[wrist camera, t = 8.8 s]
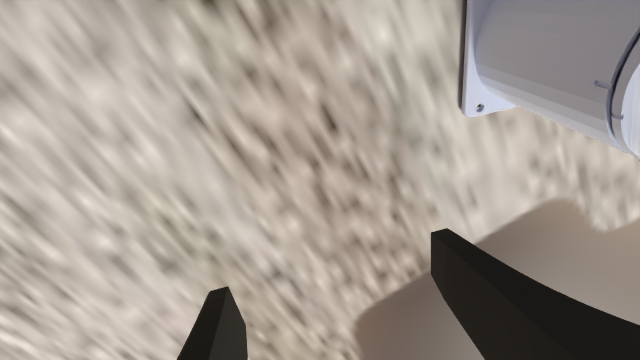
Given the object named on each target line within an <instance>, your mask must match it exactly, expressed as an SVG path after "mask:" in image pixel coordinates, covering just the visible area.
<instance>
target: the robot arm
mask: <svg viewBox="0 0 640 360" xmlns="http://www.w3.org/2000/svg"><path fill="white" fill-rule="evenodd" d="M479 104H480V108H479V109H478V110H476V107H477V106H478V105H479ZM518 106H519V107H521V108H524V109H526V110H528V111H531V112H533V113H535V114H538V115H540V116H542V117H545V118H547V119H549V120H552V121H554V122H556V123H559V124H561V125H563V126H566V127H568V128H570V129H572V130H575V131H577V132H579V133H582V134H584V135H586V136H589V137H591V138H593V139H596V140H598V141H600V142H603V143H605V144H607V145H610V146H612V147H614V148H617V149H619V150H621V151H623V152H626V153H629V154H631V155H633V156H634V157H636V158H638V159H639V161H640V0H467V17H466V36H465V55H464V75H463V94H462V113H463V115H465V116H466V117H475V116H479V115H484V114H488V113H492V112H497V111H501V110H505V109H510V108H514V107H518ZM431 275H432V277H433V279H434V281H435V282H436V285H437V287H438V288H439V290H440V292H441V294H442V296H443V298H444V300H445V301H446V303H447V304H448V306H449V307H450V309H451V310H452V312H453V313H454V315H455V316H456V318H457V319H458V321H459V322H460V324H461V325H462V327H463V328H464V329H465V331H466V332H467V334H468V335H469V337H470V338H471V340H472V341H473V343H474V344H475V346H476V347H477V348H478V350H479V351H480V353H481V354H482V356H483V357H484V359H485V360H640V325H637V324H635V323H632V322H629V321H626V320H624V319H621V318H619V317H616V316H613V315H611V314H608V313H606V312H603V311H601V310H598V309H596V308H593V307H591V306H588V305H586V304H584V303H581V302H579V301H577V300H575V299H573V298H570V297H568V296H566V295H564V294H562V293H560V292H557V291H555V290H553V289H551V288H549V287H547V286H545V285H543V284H541V283H539V282H537V281H535V280H533V279H531V278H529V277H528V276H526V275H524V274H522V273H520V272H518V271H517V270H515V269H513V268H511V267H509V266H508V265H506V264H504V263H503V262H501V261H499V260H498V259H496V258H494V257H492V256H491V255H489V254H487V253H486V252H484V251H483V250H481V249H479V248H478V247H476V246H475V245H473V244H472V243H470V242H468V241H467V240H465V239H464V238H462V237H461V236H459V235H457V234H456V233H454V232H453V231H451V230H449V229H448V228H446V229H443V230H439V231H435V232H431ZM247 358H248V354H247V338H246V325H245V323H244V320H243V318H242V316H241V314H240V311H239V309H238V307H237V305H236V303H235V300H234V298H233V296H232V294H231V291H230V289H229V287H224V288H220V289H217V290H213V291H210V292H209V294H208V296H207V298H206V300H205V302H204V304H203V307H202V309H201V311H200V313H199V315H198V318H197V320H196V322H195V324H194V326H193V328H192V330H191V332H190V334H189V336H188V338H187V340H186V342H185V344H184V346H183V348H182V350H181V352H180V354H179V356H178V358H177V360H247Z"/></svg>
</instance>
